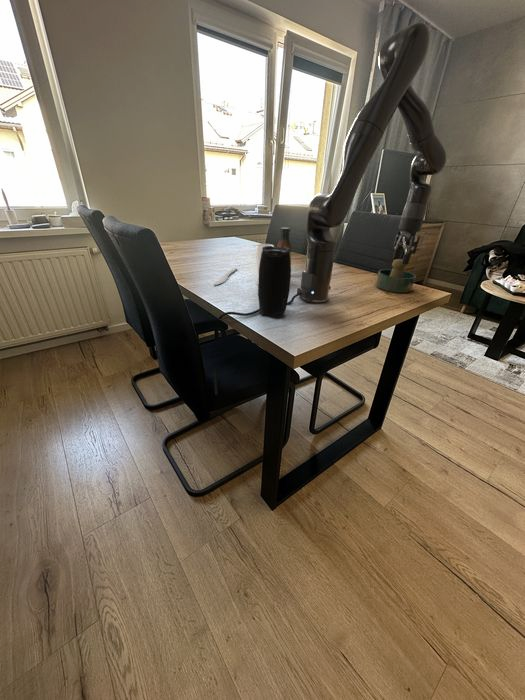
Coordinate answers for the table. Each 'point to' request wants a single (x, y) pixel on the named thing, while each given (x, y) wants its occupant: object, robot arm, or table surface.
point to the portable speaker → (274, 280)
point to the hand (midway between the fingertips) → (400, 261)
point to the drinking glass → (258, 256)
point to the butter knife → (225, 276)
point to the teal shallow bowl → (395, 281)
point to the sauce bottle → (285, 239)
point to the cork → (397, 268)
